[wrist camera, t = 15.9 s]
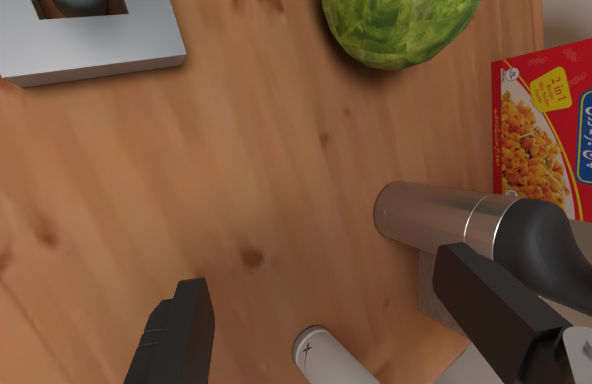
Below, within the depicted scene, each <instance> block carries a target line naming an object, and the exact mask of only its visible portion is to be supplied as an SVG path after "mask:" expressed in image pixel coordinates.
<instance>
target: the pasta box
mask: <svg viewBox="0 0 592 384" xmlns="http://www.w3.org/2000/svg"><path fill="white" fill-rule="evenodd" d="M491 74H492V131H493V189H494V194H500V195H507V196H515V197H522V198H530V199H538V200H544V201H549V202H552V203H555V204H557V205H558V206H560V207H561V208H562V209H563V211H564V212H565V214H566V215H567V218H568V219H574V220H580V221H586V222H592V39H587V40H583V41H579V42H575V43H570V44H566V45H562V46H558V47H554V48H550V49H546V50H541V51H537V52H533V53H529V54H525V55H521V56H516V57H512V58H508V59H504V60H500V61H496V62H492V63H491Z"/></svg>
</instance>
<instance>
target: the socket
mask: <svg viewBox="0 0 592 384" xmlns="http://www.w3.org/2000/svg"><path fill="white" fill-rule="evenodd" d="M120 2H121V5H122V8H123V11H124V14H121V15H106V16H91V17H76V18H60V19H46V18H45V16H44V14H43V11H42V9H41V6H40V4H39V2H38V0H0V74H1V76H2V78H4V79H6V80H8V81H10V82H11V83H13V84H15V85H17V86H19V87H21V88H25V87H32V86H39V85H46V84H53V83H60V82H67V81H74V80H81V79H88V78H95V77H102V76H109V75H116V74H123V73H130V72H137V71H145V70H152V69H159V68H166V67H173V66H180V65H182V63H183V61H184V59H185V57H186V55H187V54H186V51H185V47H184V44H183V41H182V38H181V34H180V31H179V28H178V25H177V21H176V18H175V15H174V12H173V8H172V5H171V2H170V0H120Z"/></svg>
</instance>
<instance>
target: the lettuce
mask: <svg viewBox="0 0 592 384" xmlns="http://www.w3.org/2000/svg"><path fill="white" fill-rule="evenodd" d="M480 2H481V0H322V8H323V11H324V13H325V16H326V19H327V22H328V25H329V28H330V30H331V32H332V34H333V35H334V37H335V38H336V39H337V41H338V42H339V43H340V45H341V46H342V47H343V48H344V50H345V51H346V52H347V54H348V55H350V56H352V57H353V58H355V59H356V60H358V61H360V62H361V63H363V64H364V65H366V66H368V67H372V68H379V69H386V70H399V69H405V68H408V67H411V66H414V65H417V64H420V63H423V62H426V61H429V60H430V59H432V58H433V57H434V56H435V55H436V54H437V53H439V52H440V51H441V50H442V49H443V48H444V47H446V46H447V45H448V44H449V43H450V42H451V41H453V40H454V39H455V38H456V37H457V36H458V35H459V34H460V33H461V32H462V31H463V30H464V29H465V28H466V27H467V25H468V23H469V21H470V20H471V18H472V16H473V14H474V13H475V11H476V9H477V7H478V6H479V4H480Z"/></svg>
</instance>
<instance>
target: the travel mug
mask: <svg viewBox="0 0 592 384" xmlns="http://www.w3.org/2000/svg"><path fill="white" fill-rule="evenodd" d="M292 355H293V360H294V362H295V363H296V365H297V366H298V367H299V369H300V370H301V372H302V373H303V374H304V376H305V377H306V379H307V380H308V381H309V383H310V384H381V383H380V382H379V381H378V380H377V379H376V378H375V377H374V376H373V375H372V374H371V373H370V372H369V371H368V370H367V369H366V368H365V367H364V366H363V365H362V364H361V363H360V362H359V361H357V360H356V359H355V358H354V357H353V356H352V355H351V354H350V353H349V352H348V351H347V350H346V349H345V348H344V347H343V346H342V345H341V344H340V343H339V342H338V341H337V340H336V339H335V338H334V337H333V336H332V335H331V334H330V333H329V332H328V331H327V330H326V329H325V328H323V327H321V326H313V327H310V328H308V329H306V330H305V331H303V332H302V333H301V334H300V335H299V337H298V338H297V340H296V341H295V344H294V346H293V353H292Z"/></svg>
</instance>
